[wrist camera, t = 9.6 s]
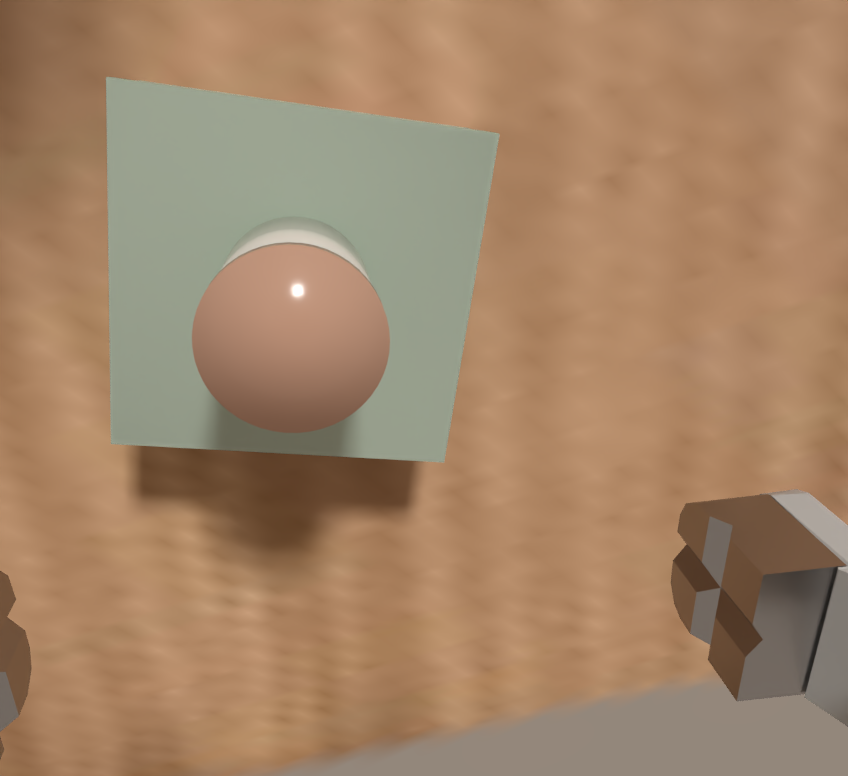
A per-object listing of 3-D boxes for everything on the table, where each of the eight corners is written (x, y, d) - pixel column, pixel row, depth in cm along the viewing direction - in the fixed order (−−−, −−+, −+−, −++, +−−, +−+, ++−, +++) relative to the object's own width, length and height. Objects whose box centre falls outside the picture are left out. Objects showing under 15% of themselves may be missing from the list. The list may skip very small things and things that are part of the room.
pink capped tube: (211, 213, 24) (182, 247, 19) (371, 212, 25) (390, 245, 19) (224, 365, 26) (201, 437, 20) (373, 360, 27) (390, 428, 21)
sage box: (139, 76, 27) (106, 76, 22) (468, 125, 29) (499, 134, 24) (138, 390, 31) (111, 444, 27) (424, 409, 33) (444, 462, 29)
